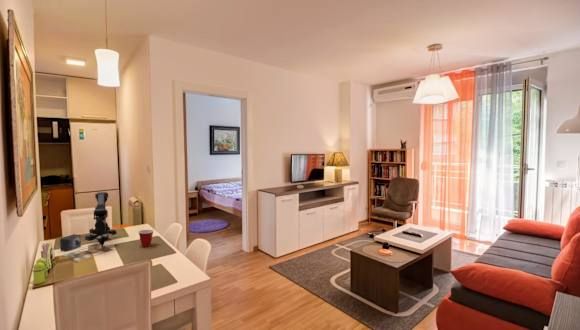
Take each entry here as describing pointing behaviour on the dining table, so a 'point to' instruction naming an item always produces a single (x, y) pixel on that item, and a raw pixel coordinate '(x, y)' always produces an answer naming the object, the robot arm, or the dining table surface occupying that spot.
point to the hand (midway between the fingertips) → (101, 246)
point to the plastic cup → (146, 237)
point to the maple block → (94, 247)
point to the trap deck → (84, 254)
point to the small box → (70, 242)
